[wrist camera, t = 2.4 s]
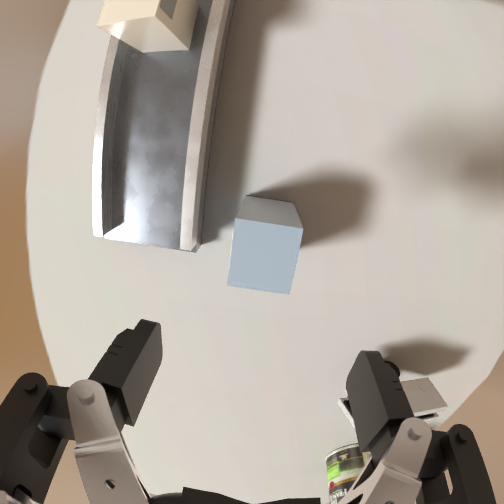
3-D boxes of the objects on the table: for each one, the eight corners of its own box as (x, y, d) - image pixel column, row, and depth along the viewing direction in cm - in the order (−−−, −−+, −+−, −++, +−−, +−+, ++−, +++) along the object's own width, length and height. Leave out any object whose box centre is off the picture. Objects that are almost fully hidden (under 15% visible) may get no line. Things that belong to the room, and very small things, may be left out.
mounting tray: (146, -12, 17) (131, -27, 13) (239, -18, 17) (234, -38, 13) (113, 231, 28) (94, 244, 24) (200, 245, 28) (190, 261, 24)
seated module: (153, 9, 17) (114, -26, 9) (199, 5, 17) (172, -38, 9) (142, 52, 19) (95, 27, 11) (189, 50, 19) (155, 16, 11)
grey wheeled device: (417, 357, 34) (338, 361, 30) (450, 403, 25) (370, 426, 21) (403, 376, 35) (324, 383, 32) (433, 422, 26) (351, 445, 23)
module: (244, 195, 26) (234, 218, 18) (294, 203, 26) (304, 228, 18) (238, 245, 27) (226, 285, 20) (285, 252, 27) (289, 294, 20)
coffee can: (317, 463, 45) (320, 518, 32) (339, 443, 41) (347, 505, 28) (358, 463, 45) (366, 513, 32) (382, 441, 41) (395, 498, 28)
